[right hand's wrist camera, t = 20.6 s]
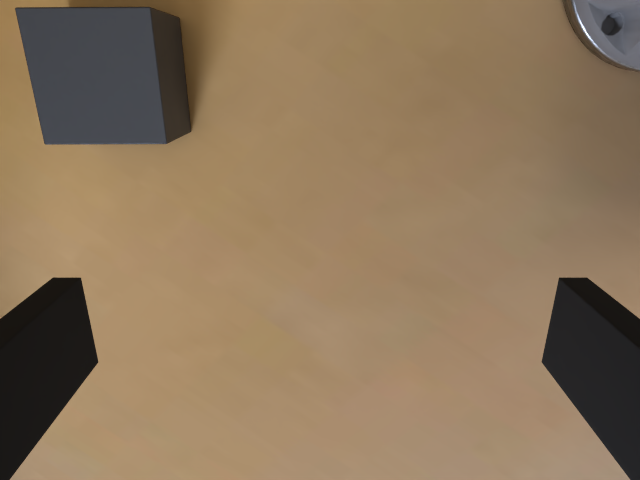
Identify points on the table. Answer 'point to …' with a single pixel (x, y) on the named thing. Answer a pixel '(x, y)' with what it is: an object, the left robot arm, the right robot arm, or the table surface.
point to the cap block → (106, 74)
